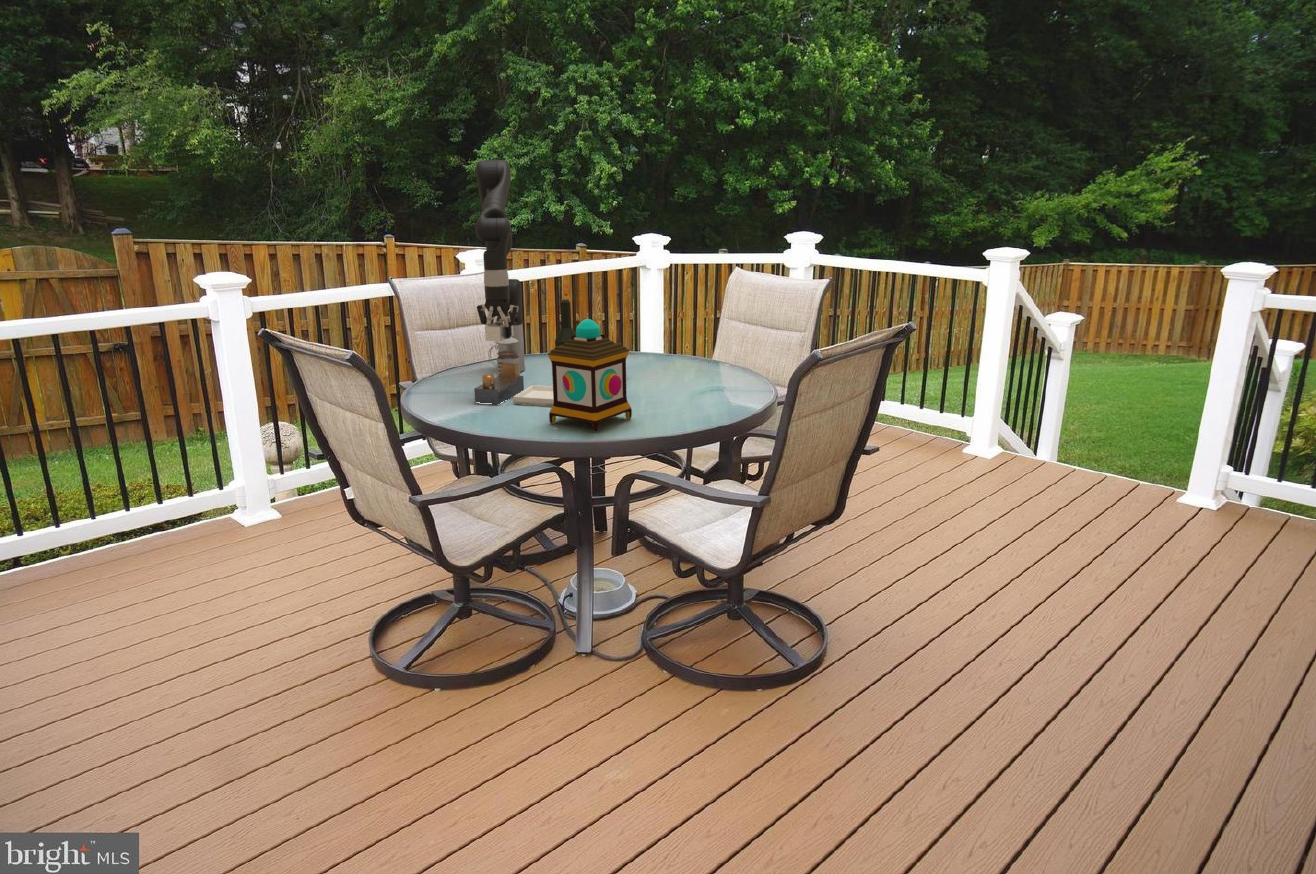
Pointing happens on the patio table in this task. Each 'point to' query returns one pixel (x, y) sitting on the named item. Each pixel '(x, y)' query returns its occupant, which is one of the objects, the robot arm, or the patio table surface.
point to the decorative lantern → (589, 377)
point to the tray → (535, 396)
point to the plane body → (500, 385)
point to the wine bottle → (565, 324)
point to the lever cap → (496, 331)
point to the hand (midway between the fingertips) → (499, 337)
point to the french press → (505, 354)
